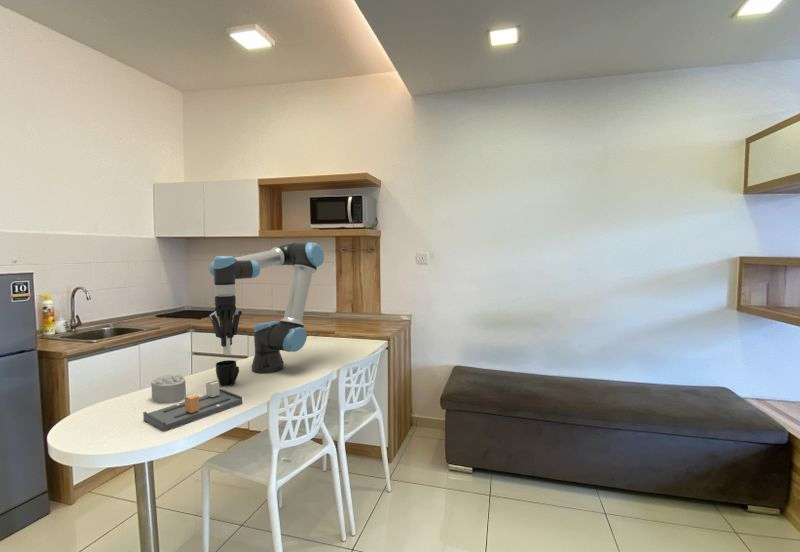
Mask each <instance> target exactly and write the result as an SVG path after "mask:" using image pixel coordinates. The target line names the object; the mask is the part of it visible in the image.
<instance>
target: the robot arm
mask: <svg viewBox="0 0 800 552" xmlns="http://www.w3.org/2000/svg"><path fill="white" fill-rule="evenodd" d="M324 261H325V254H324V250H323V248H322V246H321V245H319V244H318V243H316V242H290V243H287V244H284V245H280V246H275V247H272V248H271V249H270V250H266V251H260V252H255V253H251V254H247V255H246V254H245V255H242V256H237V257H234V255H233V256H232V255H217V256H215V257H214V258H213V261H211V263H210V265H209V273H210V274H211V275H212V276H213V277H214V278H213V279H214V280H213V281H214V282H213V284H214V295H215V296H214V305H215V308H214V312H212V313H210V314H208V318H209V319H210V320H211V323H212V328H213V330H214V334H215V337H216V338H219V339H220V344H221V345H220V346H221V347H222V349H223V350H222V352H223V355H225V356H228V355H231V354H232V352H231V346H232V345H233V338H234V337H235V336H237V334H238V327H239V322H240V317H241V315H242V313H243V312H242V310H239V309H237V307H236V304H237V303H236V300H237V299H236V297H237V296H236V294H237V293H236V292H237V291H236V280H241V279H242V280H243V279H254V278H257V277H258V276H259V275H260V274H261V273H260V272H261V269H264V268H268V267H273V266H276V267H282V266H292V268H293V269H294V273H293V277H292V282H291V284H290V289H289V295H288V298H287V303H286V306H285V312H284V315H283V318H282V319H280V320H279V321H278V320H273V321H266V322H259V323H257V324H255V325H254V327H253V328H254V329H253V338H254V340H253V341H254V342H253V343H254V356H253V359H252V364H251V372H252V373H256V374H270V373H275V372H278V371H281V370H283V369H284V368H285V363H284V358H283V357H282V355H281V351H283V352H286V353H287V352H288V353H289V352H291V353H295V352H298V351H300V350H301V349H302V348H303V347H304V346H305V344H306V342H307V338H308V336H307V331H306V330H305V329H304V327H305V324H304V322H303V317H304V312H305V310H306V309H305V307H306V303H307V300H308V299H307V298H308V293H309V291H310V285H311V282H312V276H313V274H315V273H316V272H317V268H318V267H321V265H322V264H323V263H324ZM218 319H219V320H218Z"/></svg>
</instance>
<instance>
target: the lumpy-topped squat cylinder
mask: <svg viewBox="0 0 800 552" xmlns="http://www.w3.org/2000/svg"><path fill="white" fill-rule="evenodd" d="M150 386H151V400H152V402H154V403H156V404H164V405H165V404H166V405H167V404H177V403H181V402H182V401H185V396H187V389H186V378H185V377H184V376H183V375H182V374H181V373H180V374H179V373H178V374H176V375H173V374H167V375H163V376H159V377H156V378H155V379H154V380H152V381H151V385H150Z"/></svg>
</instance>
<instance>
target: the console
mask: <svg viewBox="0 0 800 552" xmlns="http://www.w3.org/2000/svg"><path fill="white" fill-rule="evenodd" d="M219 394H220V395H218V396H215V397H210V396H208V395H206V394H205V395H201V396H199V411H196V412H193V413H190V412H188V411H185V401H183V402H182V401H181V402H178V403H175V404H173V405H170V406H167V407H163V408H161V409H157V410H154V411H151V412H146V411H143V412H142V413H143V415H142V416H143V421H144V422H145V423H148V424H150V425H152V426H153V427H155V428H156V429H159V430H161V431H162V432H163V433H164V432H167V431H170V430H173V429H175V428H178V427H181V426H183V425H187V424H191V423H192V422H195V421H198V420H200V419H203V418H207V417H208V416H212V415H214V414H218V413H220V412H223V411H225V410H229V409H231V408H234V407H237V406H241V405H242V404H243V397H242V396H240V395H238V394H235V393H234V392H231V391H228V390H225V389H223V388H219Z"/></svg>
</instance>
